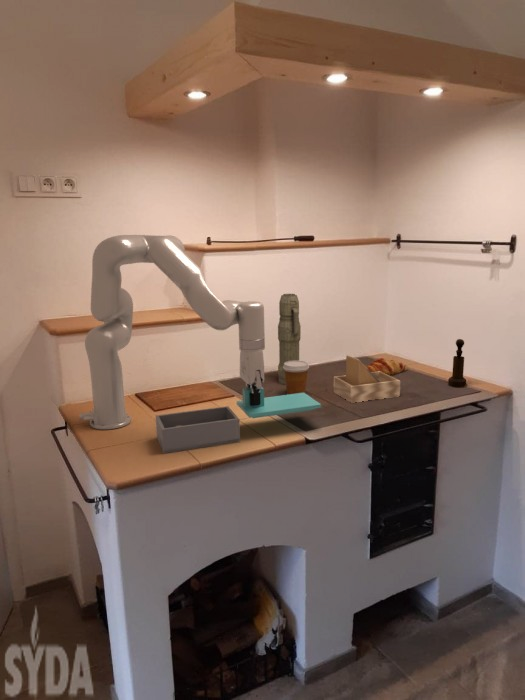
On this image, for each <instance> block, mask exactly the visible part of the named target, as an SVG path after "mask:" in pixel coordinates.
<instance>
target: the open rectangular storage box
mask: <svg viewBox="0 0 525 700" xmlns="http://www.w3.org/2000/svg"><path fill="white" fill-rule="evenodd" d="M371 373H372V374H373V375H374V376H375V377H376V378H377V379H378V380H379V381H380V383H372V384H364V385H356V386H352V385H350V384H348V383H347V382H346V374H345V375H337V376H333V393H334V394H335V395H338V396H339V397H340V396H341V398H342V399H343V400H345V399H346V401H347V402H348V403H350V402H351V403H350V404H356V403H355V402H357V403H363V402H362V401H364V402H369V401H368V400H372V401H376V400H375V399H379V400H384V398H386V399H392V398H400V397H399V396H401V380H399V379H398V378H396V377H393V376H392V375H387V374H385V373H383V372H381V371H378V372H371Z"/></svg>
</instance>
